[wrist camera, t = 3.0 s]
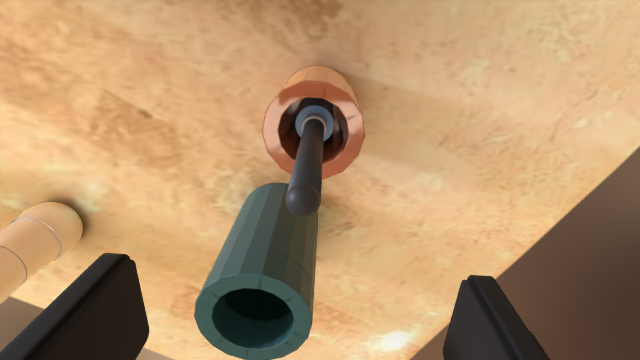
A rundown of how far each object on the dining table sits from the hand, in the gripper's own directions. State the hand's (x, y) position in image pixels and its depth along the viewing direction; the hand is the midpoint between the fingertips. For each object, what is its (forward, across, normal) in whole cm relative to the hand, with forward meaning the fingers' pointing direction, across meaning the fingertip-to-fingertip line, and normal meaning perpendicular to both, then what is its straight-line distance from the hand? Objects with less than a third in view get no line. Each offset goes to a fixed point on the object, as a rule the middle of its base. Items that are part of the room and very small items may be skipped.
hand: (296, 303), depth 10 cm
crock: (+28, 0, 0) cm, 28 cm away
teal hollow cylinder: (+28, +4, +14) cm, 32 cm away
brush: (+27, 0, 0) cm, 27 cm away
